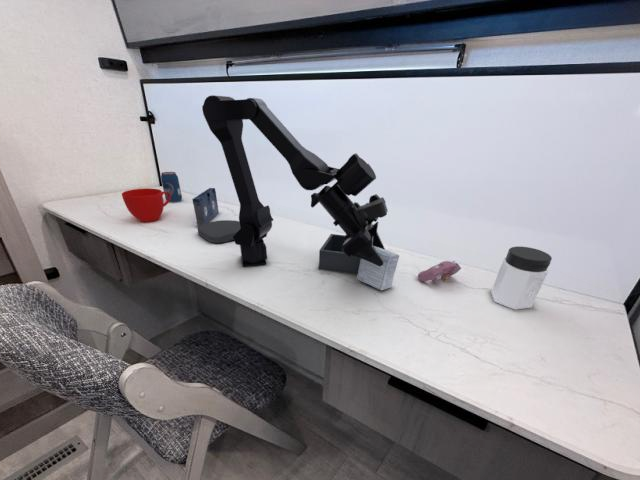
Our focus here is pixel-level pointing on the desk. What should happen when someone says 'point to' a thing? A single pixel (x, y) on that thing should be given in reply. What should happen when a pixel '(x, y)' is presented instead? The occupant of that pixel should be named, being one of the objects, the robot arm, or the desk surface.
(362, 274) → the medicine box
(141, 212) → the ceramic cup
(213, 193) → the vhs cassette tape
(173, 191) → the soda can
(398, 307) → the desk surface
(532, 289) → the jar
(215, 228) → the media streaming box
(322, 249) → the storage bin
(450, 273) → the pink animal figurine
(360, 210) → the robot arm
